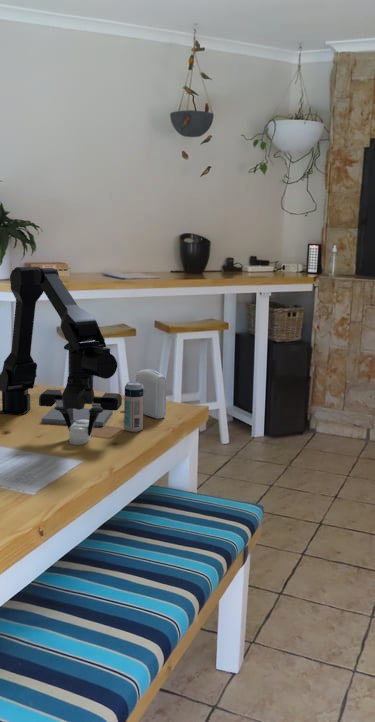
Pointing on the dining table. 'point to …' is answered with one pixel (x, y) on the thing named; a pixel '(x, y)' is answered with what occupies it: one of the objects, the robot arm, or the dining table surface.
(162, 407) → the photo printer
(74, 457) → the dining table surface
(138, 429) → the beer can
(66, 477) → the dining table surface
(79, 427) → the grey rounded piece
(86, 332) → the robot arm
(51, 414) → the slate board
